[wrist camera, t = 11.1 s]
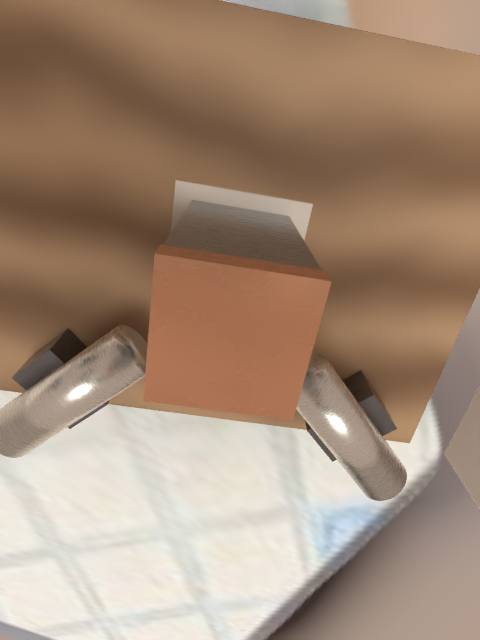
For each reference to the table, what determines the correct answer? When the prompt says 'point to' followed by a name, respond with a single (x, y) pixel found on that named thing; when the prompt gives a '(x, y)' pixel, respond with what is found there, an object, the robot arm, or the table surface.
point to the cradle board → (237, 175)
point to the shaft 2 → (351, 427)
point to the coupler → (233, 312)
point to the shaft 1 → (69, 385)
